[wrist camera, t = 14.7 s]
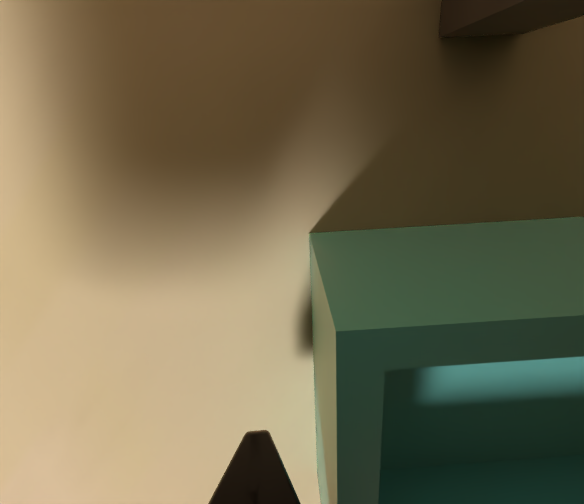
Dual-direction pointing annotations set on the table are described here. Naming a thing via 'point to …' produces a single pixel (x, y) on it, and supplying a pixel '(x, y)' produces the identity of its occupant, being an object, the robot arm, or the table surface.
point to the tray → (450, 363)
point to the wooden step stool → (504, 16)
